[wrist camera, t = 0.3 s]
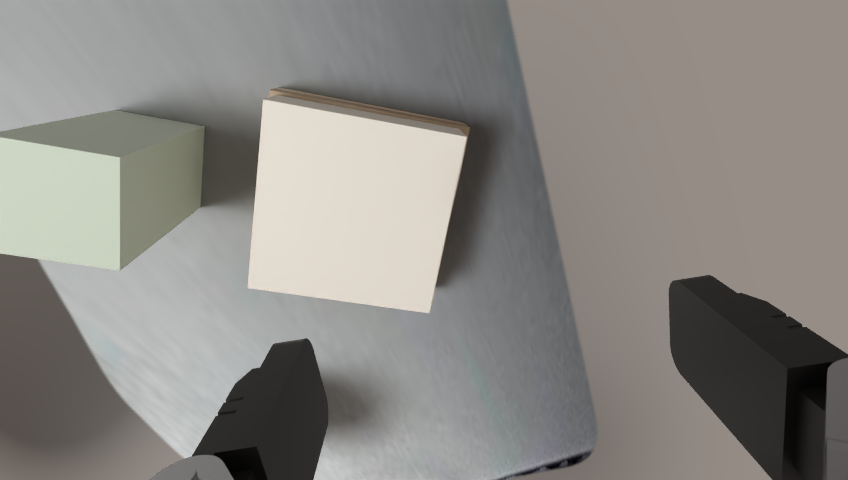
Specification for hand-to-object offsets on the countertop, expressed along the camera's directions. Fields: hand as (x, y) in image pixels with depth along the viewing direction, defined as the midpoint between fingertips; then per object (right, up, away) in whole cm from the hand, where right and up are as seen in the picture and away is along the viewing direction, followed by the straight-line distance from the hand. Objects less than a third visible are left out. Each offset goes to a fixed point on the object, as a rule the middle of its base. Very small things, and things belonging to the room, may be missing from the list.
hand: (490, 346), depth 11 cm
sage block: (-17, +7, +19) cm, 27 cm away
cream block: (-5, +5, +18) cm, 19 cm away
